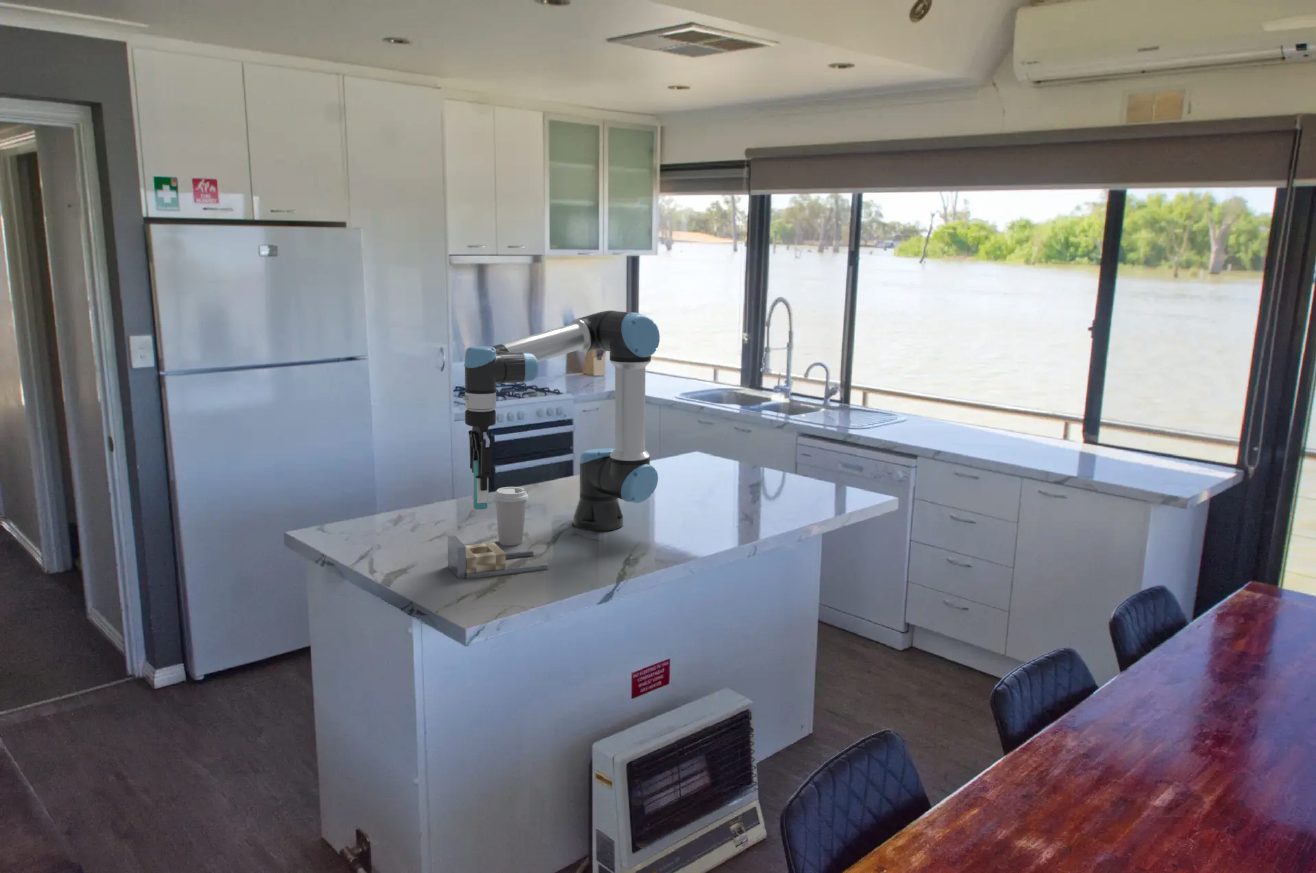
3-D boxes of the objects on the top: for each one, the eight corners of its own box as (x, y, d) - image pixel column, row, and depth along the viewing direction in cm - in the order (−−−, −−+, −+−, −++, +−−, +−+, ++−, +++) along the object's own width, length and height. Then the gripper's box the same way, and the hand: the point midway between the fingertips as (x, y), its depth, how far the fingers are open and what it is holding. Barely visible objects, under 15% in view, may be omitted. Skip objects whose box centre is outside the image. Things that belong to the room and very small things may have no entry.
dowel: (472, 506, 236) (471, 460, 233) (485, 505, 237) (485, 459, 235) (475, 509, 233) (475, 463, 230) (488, 508, 234) (488, 462, 232)
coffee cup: (521, 548, 256) (521, 496, 253) (488, 545, 257) (488, 493, 254) (532, 538, 265) (533, 487, 262) (500, 535, 267) (501, 485, 264)
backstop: (532, 554, 251) (532, 526, 249) (547, 569, 240) (548, 539, 238) (446, 564, 240) (446, 535, 239) (459, 580, 230) (458, 549, 228)
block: (494, 560, 245) (494, 542, 244) (505, 572, 236) (505, 553, 235) (456, 564, 240) (456, 546, 239) (466, 577, 232) (466, 558, 231)
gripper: (457, 404, 236) (457, 493, 240) (474, 415, 221) (474, 510, 226) (485, 403, 239) (485, 491, 244) (504, 413, 225) (504, 507, 229)
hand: (480, 500), depth 235 cm, fingers closed on dowel, 3 cm apart
